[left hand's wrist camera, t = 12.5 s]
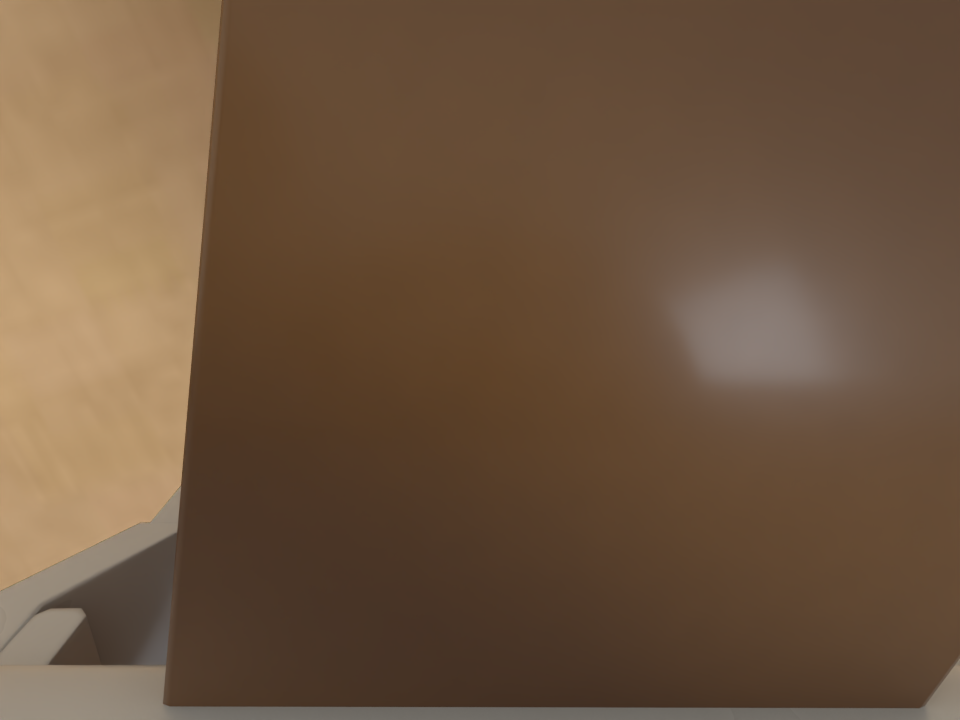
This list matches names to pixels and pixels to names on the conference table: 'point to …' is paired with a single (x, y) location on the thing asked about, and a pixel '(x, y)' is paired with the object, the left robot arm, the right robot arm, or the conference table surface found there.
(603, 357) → the box
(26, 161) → the conference table surface
